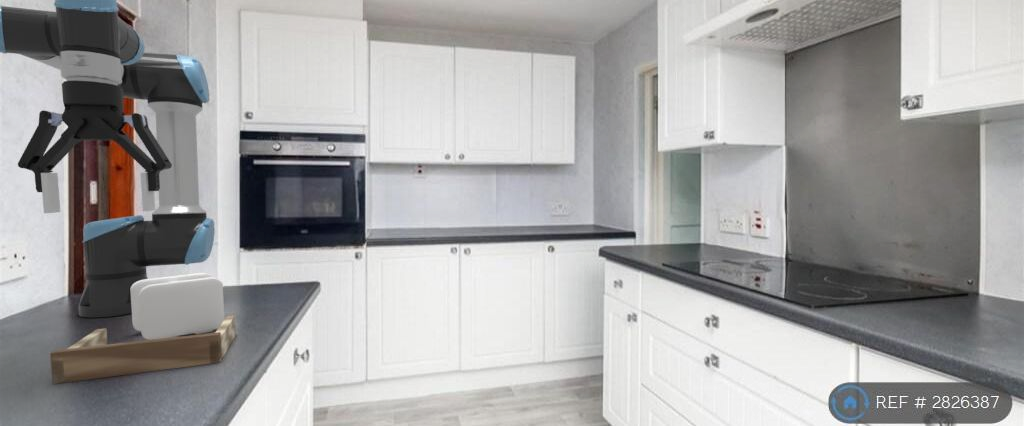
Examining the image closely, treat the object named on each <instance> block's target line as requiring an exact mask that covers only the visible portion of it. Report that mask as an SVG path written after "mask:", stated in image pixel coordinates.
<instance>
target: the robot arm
mask: <svg viewBox="0 0 1024 426" xmlns="http://www.w3.org/2000/svg"><path fill="white" fill-rule="evenodd" d="M53 5H54V7H55V11H49V10H41V9H31V8H21V7H13V6H12V7H11V6H4V5H1V4H0V53H2V54H5V55H6V54H17V55H21V56H24V57H27V58H30V59H33V60H35V61H37V62H39V63H42V64H44V65H46V66H49V67H52V68H53V69H57V70H60V74H61V75H60V76H61V77H62V79H64V80H65V81H63V82H61V93H62V103H63V106H64V110H63V113H58V112H53V111H48V110H41V111H39V115H38V125H37V126H36V128H35V130H34V132H33V134H32V136H31V138H30V140H29V142H28V143H27V146H26V147H25V149H24V151H23V152H22V155H21V157H20V159H19V160H18V163H17V166H18V168H20V169H24V170H25V169H26V170H29V171H32V172H33V174H34V183H35V184H34V185H35V189H36V192H37V193H42V204H43V205H42V206H43V214H54V213H61V203H60V202H61V201H60V191H59V190H60V189H59V178H58V177H59V176H58V175H59V174H58V172H54V170H53V169H54V168H55V167H56V166H57V165H58V164H59V163H60V162H62V160H63V158H65V157H66V155H68V153H69V152H70V151H72V149H74V147H75V146H76V145H77V144H78V143H81V142H82V141H85V140H86V141H98V140H99V141H110V142H111V141H113V142H115V143H117V144H118V145H119V146H120V147H121V148H122V149H123V150H124V151H125V152H126V153H127V154H128V155H129V156H131V158H132V159H133V160H135V161H136V163H138V164H139V165H140V166H141V167H142V168H143V169H144V172H140V184H141V186H140V188H141V203H142V212H152V211H153V212H152V213H151V215H152V216H151V218H152V219H151V220H145V218H144V216H143V215H141V214H139V215H138V214H137V215H132V216H131V215H130V216H129V215H128V216H123V217H118V218H117V217H116V218H109V219H102V220H96V221H90V222H88V223H86V224H85V226H83V239H82V244H83V254H84V266H85V267H84V268H85V270H84V271H85V279H86V280H85V281H86V282H85V285H84V289H83V292H82V294H81V297H80V301H79V303H78V309H77V310H78V316H79V317H81V318H92V319H93V318H108V317H116V316H123V315H130V314H132V308H131V292H130V288H131V286H132V285H133V284H134V283H135V282H137V281H140V280H144V279H149V278H148V275H147V267H155V266H156V267H157V266H173V265H185V266H186V265H190V264H191V265H192V264H197V263H198V264H200V263H204V262H206V261H208V259H209V258H210V256H211V253H212V250H213V247H214V240H215V231H216V230H215V222H214V219H213V218H210V217H207V211H206V210H205V209H203V208H202V207H201V205H200V195H199V194H200V192H199V191H200V190H199V189H200V188H199V166H198V164H199V163H198V141H197V140H198V139H197V138H198V137H197V135H198V134H197V115H199V114H200V113H201V112H202V111H203V104H206V103H209V102H210V89H209V84H208V80H207V76H206V73H205V70H204V67H203V64H202V63H201V61H200V60H199V59H197V58H196V57H194V56H187V55H181V54H179V53H178V54H168V53H152V52H145V48H146V47H145V43H144V40H143V39H142V37H141V35H140V34H139V33H138V32H137V30H136V29H135V28H134V27H133V26H131V25H130V24H128V23H127V22H125V20H123V19H122V18H121V17H120V16H119V11H120V8H119V7H118V3H117V0H54V3H53ZM124 98H127V99H132V100H133V99H134V100H144V101H145V100H147V106H148V107H149V109H151V110H152V111H153V113H154V114H155V131H156V133H155V135H156V137H155V135H154V134H153V132H152V131H151V130H150V127H149V123H148V117H147V116H146V115H145V114H142V113H137V112H135V113H132V114H127V115H126V114H125V112H124V107H125V105H124ZM62 123H64V124H65V125H66V126H67V128H66V129H65V130H64V131H63V132H62V133H61V134H60V137H59V138H58V139H57V141H56V142H55V143H54V144H53V145H52V146H51V147H50V148H49V145H50V144H51V141H52V139H53V138H54V136H55V134H56V132H57V130H58V127H60V125H61V124H62ZM127 124H129V126H130V127H131V128H133V129H134V130H135V132H136V134H137V136H138V137H139V139H140V141H141V142H142V144H143V145H144V147H145V149H146V150H147V152H148V153H149V154H150V156H151V157H152V158H151V157H149V155H147V154H146V152H144V150H142V149H141V148H140V146H138V145H137V144H136V143H135V142H134V141H133V140H132V139H131V137H130V136H129V135H128V134H127V133H126V132H125V131H123V129H124V128H125V126H126V125H127ZM48 148H49V149H48ZM47 149H48V150H47ZM155 192H158V207H157V209H156V202H155V201H156V200H155Z"/></svg>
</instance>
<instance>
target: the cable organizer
mask: <svg viewBox="0 0 1024 426" xmlns="http://www.w3.org/2000/svg"><path fill="white" fill-rule="evenodd" d="M130 292H131V308H132V313H131V320H132V327H133V329H135V330H136V331H137V332H140V333H141V335H142V337H143V338H144V339H145V340H154V339H163V338H172V337H181V336H187V335H190V334H191V335H192V334H193V335H199V334H208V333H213V331H214V330H217V329H218V328H219V327H220V325H221V324H222V322H223V321H224V319H225V306H224V305H225V304H224V302H225V300H224V285H223V282H222V281H221V280H220V279H218V278H216V277H214V276H212V275H211V274H209V273H208V272H207V273H206V272H195V273H187V274H181V275H171V276H165V277H164V276H163V277H162V276H161V277H153V278H152V277H151V278H148V279H144V280H140V281H137V282H135V283H134V284H133V285H132V286H131V288H130Z"/></svg>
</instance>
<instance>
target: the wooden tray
mask: <svg viewBox="0 0 1024 426" xmlns="http://www.w3.org/2000/svg"><path fill="white" fill-rule="evenodd" d="M107 332H108V331H107V328H97V329H95V330H93V331H92V332H90V333H89V334H87V335H86V336H84V337H83V338H81V339H80V340H78V341H76V342H75V343H74V344H72V345H70V346H69V347H67V348H64V349H55V350H54V351H51V352H50V369H51V380H52V381H51V382H52V385H55V384H56V385H57V384H64V383H71V382H79V381H86V380H87V381H88V380H94V379H96V380H97V379H101V378H110V377H119V376H125V375H133V374H140V373H148V372H156V371H164V370H172V369H180V368H186V367H187V368H188V367H195V366H203V365H211V364H218V363H219V364H220V363H221V362H222V360H223V358H224V357H225V355H226V353H227V351H228V349H229V347H230V346H231V344H232V342H233V340H234V339H235V337H236V335H237V334H236V333H237V332H236V316H235V315H230V316H229V315H227V316H226V317H224V321H223V322H222V324H221V325H220V327H218V328H216V331H215V332H208V333H202V334H193V335H192V334H191V335H190V334H189V335H181V336H178V337H172V338H163V339H154V340H148V339H145V340H136V341H129V342H118V343H110V344H108V334H107Z"/></svg>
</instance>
